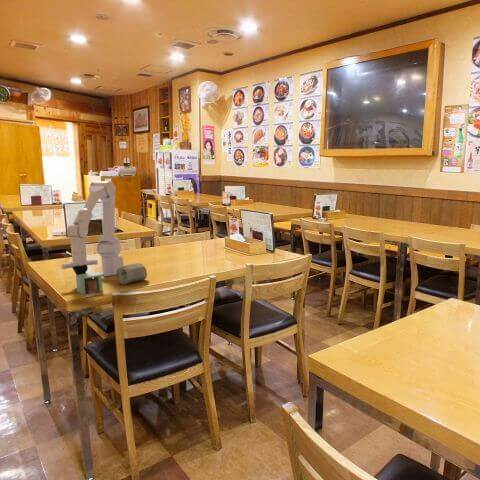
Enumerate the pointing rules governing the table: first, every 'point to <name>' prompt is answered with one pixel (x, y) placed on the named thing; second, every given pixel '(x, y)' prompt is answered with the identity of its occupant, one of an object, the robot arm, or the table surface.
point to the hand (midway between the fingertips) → (81, 282)
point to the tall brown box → (90, 285)
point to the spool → (131, 273)
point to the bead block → (81, 278)
